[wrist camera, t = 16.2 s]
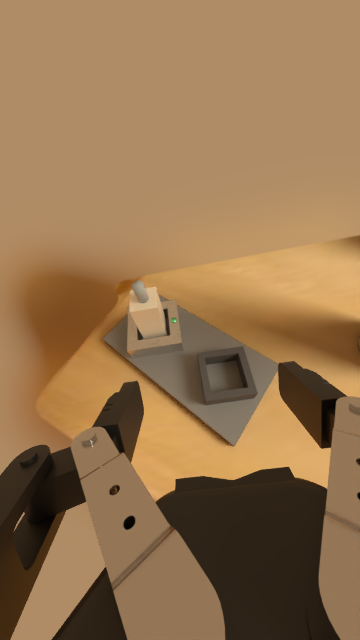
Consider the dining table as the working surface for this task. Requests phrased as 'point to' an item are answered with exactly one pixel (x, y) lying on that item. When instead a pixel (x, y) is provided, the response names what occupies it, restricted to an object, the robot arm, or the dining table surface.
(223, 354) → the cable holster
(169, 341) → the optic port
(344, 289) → the dining table surface
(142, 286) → the plug
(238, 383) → the port board
